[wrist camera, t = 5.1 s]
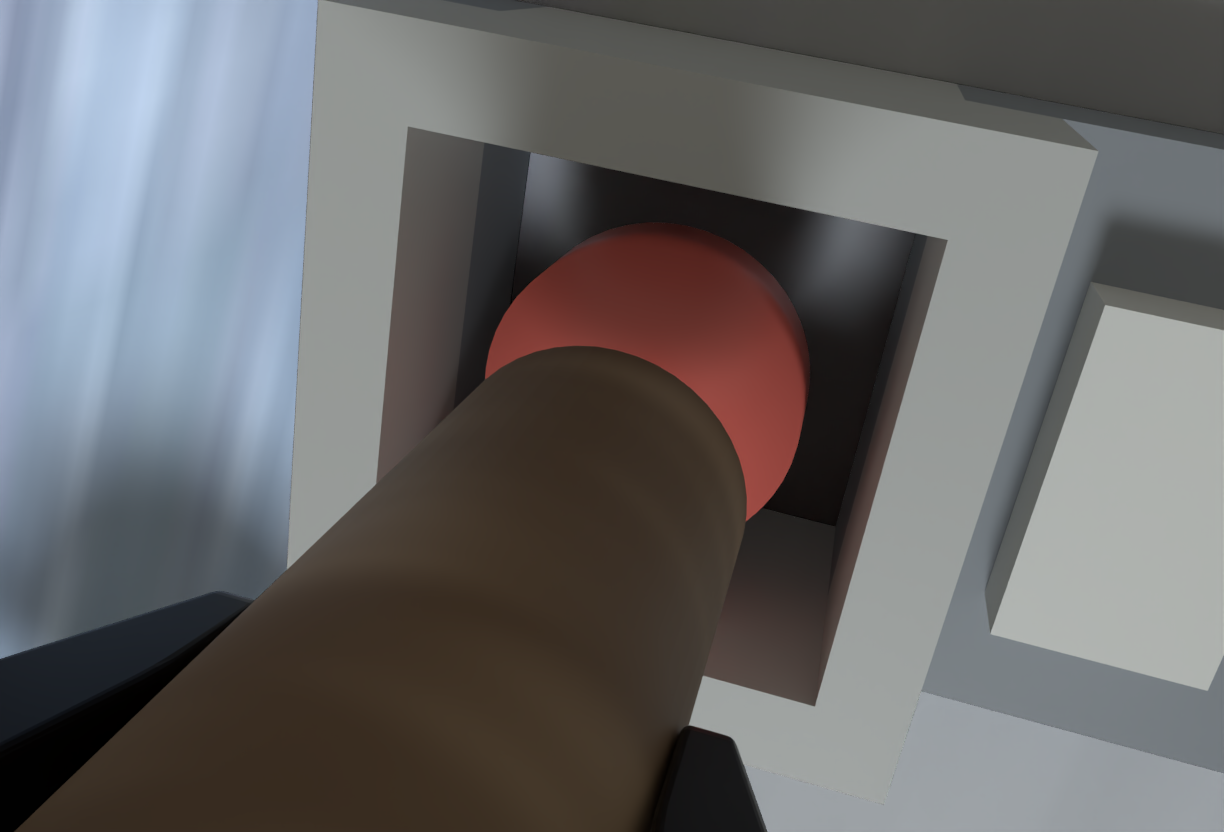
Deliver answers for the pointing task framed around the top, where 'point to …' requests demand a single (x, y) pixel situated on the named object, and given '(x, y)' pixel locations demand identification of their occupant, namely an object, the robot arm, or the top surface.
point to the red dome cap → (680, 331)
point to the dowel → (462, 632)
